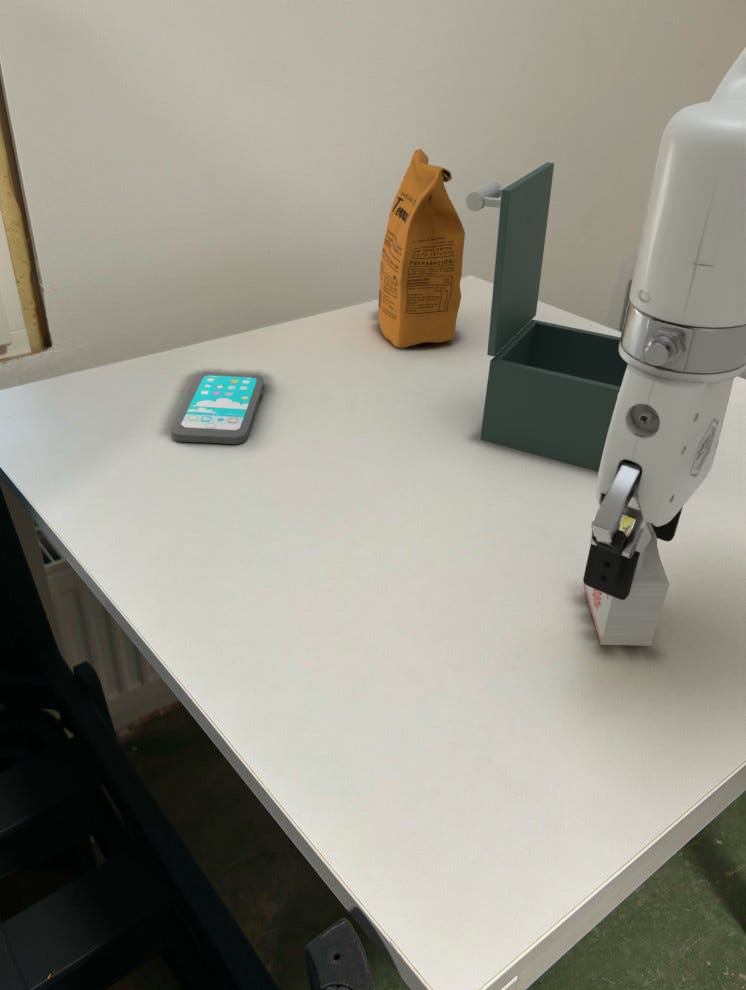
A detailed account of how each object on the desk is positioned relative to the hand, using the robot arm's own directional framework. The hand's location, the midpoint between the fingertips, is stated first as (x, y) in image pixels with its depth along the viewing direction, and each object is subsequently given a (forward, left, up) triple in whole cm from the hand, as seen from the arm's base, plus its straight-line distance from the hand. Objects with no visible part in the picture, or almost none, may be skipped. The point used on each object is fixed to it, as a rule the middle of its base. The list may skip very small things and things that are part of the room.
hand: (629, 559), depth 60 cm
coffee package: (+45, -39, -7) cm, 60 cm away
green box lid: (+23, -24, +11) cm, 35 cm away
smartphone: (+49, -6, -7) cm, 50 cm away
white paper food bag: (0, 0, -6) cm, 6 cm away
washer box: (+16, -25, -7) cm, 31 cm away
